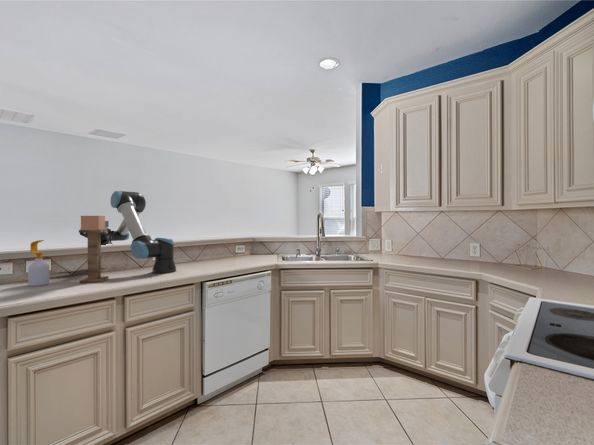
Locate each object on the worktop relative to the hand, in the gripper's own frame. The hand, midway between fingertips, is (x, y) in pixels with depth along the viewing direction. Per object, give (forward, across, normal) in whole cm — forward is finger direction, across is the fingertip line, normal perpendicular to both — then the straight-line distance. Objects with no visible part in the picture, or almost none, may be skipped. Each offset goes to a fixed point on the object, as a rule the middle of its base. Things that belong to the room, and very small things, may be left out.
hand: (93, 227), depth 208 cm
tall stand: (+7, -9, -40) cm, 41 cm away
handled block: (+16, -9, -11) cm, 22 cm away
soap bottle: (+10, +17, -42) cm, 46 cm away
